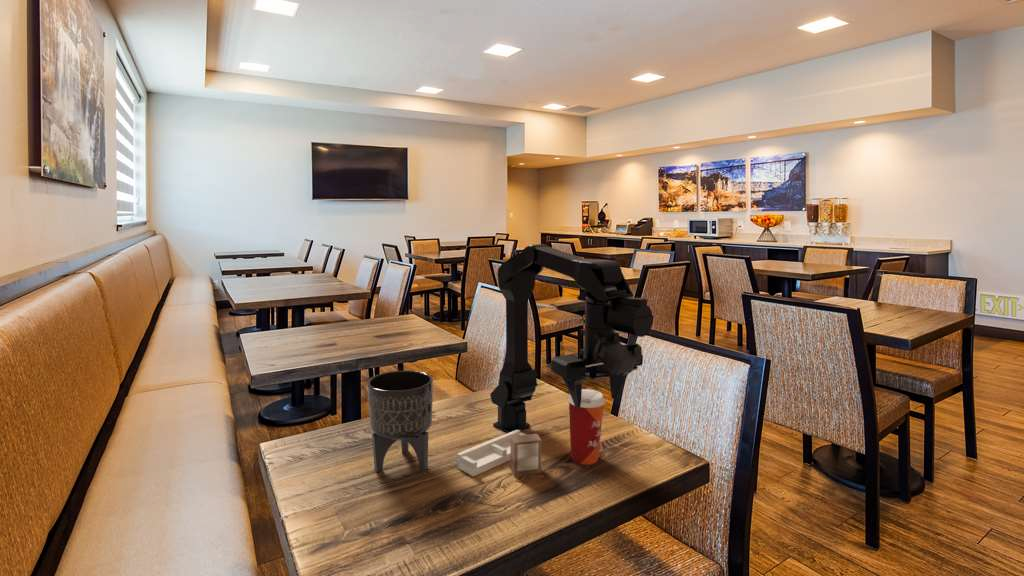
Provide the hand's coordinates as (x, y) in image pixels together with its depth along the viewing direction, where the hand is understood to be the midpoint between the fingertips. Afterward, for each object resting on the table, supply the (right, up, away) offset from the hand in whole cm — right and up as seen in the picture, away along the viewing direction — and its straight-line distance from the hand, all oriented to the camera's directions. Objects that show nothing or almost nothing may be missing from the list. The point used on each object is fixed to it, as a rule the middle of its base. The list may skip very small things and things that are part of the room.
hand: (596, 402), depth 107 cm
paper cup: (-1, -13, +6) cm, 15 cm away
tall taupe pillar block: (-14, -14, +1) cm, 20 cm away
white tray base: (-20, -13, +6) cm, 24 cm away
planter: (-39, -13, +4) cm, 41 cm away
